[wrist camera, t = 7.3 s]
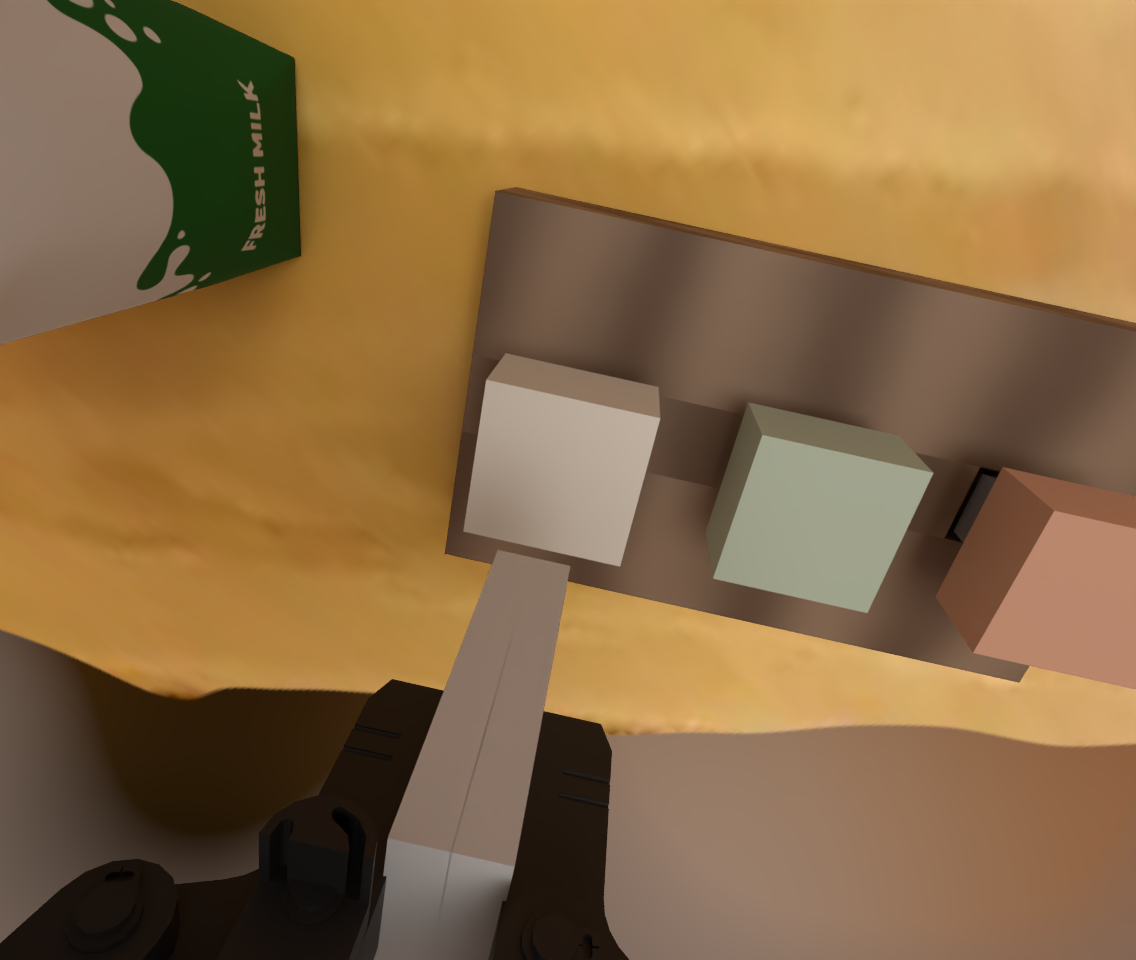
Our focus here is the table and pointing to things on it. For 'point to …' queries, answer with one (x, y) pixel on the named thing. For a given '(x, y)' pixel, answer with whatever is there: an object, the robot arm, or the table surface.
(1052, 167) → the table surface
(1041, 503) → the terracotta key
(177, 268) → the milk carton
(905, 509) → the sage key
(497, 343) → the key panel
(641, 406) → the cream key
